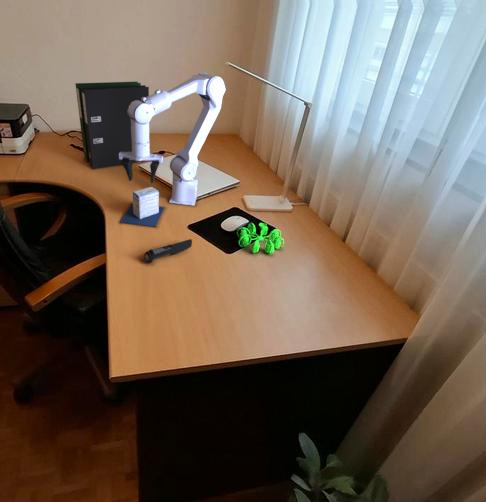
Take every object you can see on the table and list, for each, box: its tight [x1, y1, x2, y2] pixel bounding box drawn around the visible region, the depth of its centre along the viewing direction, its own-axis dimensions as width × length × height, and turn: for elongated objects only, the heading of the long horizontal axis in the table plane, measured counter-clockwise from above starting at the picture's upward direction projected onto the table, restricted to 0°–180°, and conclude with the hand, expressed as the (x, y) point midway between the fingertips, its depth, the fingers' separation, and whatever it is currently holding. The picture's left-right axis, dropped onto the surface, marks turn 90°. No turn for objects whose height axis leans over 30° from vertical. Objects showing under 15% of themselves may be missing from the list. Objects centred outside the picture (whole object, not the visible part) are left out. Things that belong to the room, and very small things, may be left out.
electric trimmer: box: [142, 238, 193, 264], centre depth 102 cm, size 4×16×3 cm, turn 122°
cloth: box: [120, 202, 165, 228], centre depth 121 cm, size 12×14×1 cm
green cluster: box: [236, 222, 285, 255], centre depth 108 cm, size 15×15×7 cm
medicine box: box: [132, 186, 160, 219], centre depth 119 cm, size 8×4×9 cm, turn 129°
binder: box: [74, 81, 150, 170], centre depth 154 cm, size 27×15×32 cm, turn 118°
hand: (141, 180), depth 120 cm, fingers open, 7 cm apart
